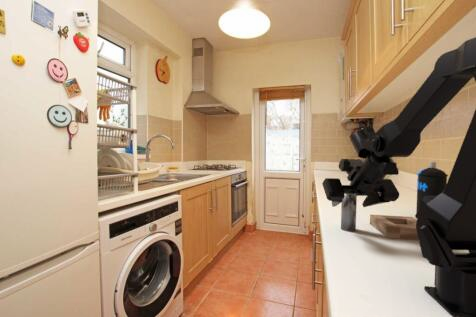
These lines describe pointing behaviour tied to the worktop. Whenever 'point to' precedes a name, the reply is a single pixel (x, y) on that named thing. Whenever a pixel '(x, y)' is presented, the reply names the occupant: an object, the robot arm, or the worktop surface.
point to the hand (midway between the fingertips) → (348, 205)
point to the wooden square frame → (395, 226)
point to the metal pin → (348, 212)
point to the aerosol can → (430, 183)
